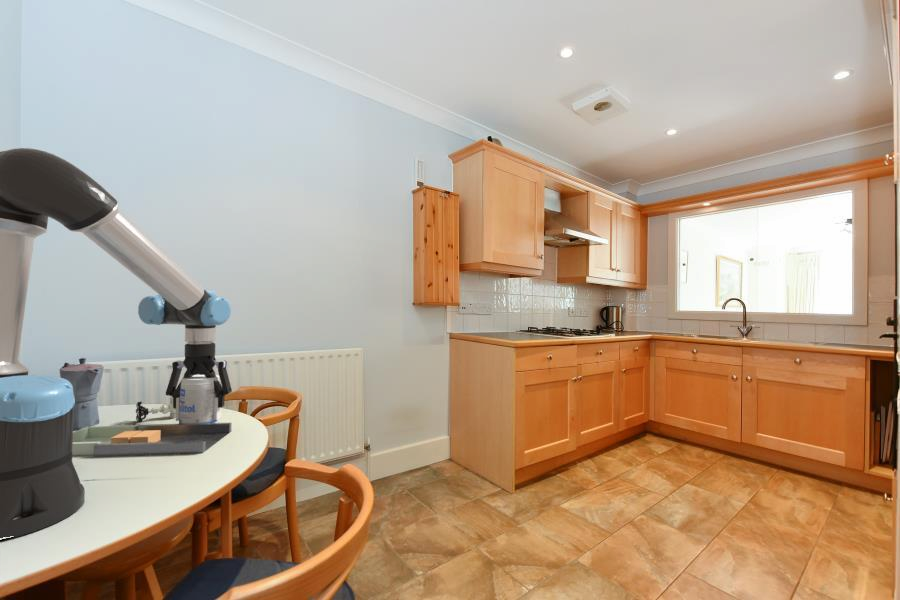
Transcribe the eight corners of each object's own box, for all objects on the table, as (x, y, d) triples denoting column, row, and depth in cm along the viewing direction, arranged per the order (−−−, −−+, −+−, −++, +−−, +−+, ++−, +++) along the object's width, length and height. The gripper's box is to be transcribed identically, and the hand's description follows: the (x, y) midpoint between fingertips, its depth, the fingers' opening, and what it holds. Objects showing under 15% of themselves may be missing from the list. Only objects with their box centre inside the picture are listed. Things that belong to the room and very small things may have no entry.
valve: (182, 413, 125) (135, 421, 116) (182, 393, 125) (135, 400, 116) (187, 418, 120) (138, 426, 112) (187, 397, 120) (139, 404, 112)
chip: (128, 447, 95) (128, 437, 95) (110, 447, 94) (110, 437, 94) (141, 440, 100) (142, 430, 100) (125, 440, 99) (125, 431, 99)
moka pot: (79, 434, 104) (80, 361, 105) (36, 429, 108) (38, 359, 108) (116, 423, 114) (117, 356, 114) (75, 419, 117) (77, 354, 117)
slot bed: (202, 454, 92) (202, 443, 92) (92, 458, 89) (92, 446, 89) (231, 432, 108) (232, 422, 108) (139, 434, 105) (139, 424, 105)
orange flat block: (147, 446, 96) (148, 436, 96) (130, 447, 95) (130, 437, 95) (160, 439, 100) (160, 430, 100) (143, 440, 100) (144, 430, 100)
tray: (97, 455, 90) (97, 443, 90) (40, 457, 89) (41, 444, 89) (136, 436, 104) (136, 425, 104) (87, 437, 102) (87, 426, 102)
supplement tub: (170, 431, 107) (171, 379, 107) (195, 422, 116) (196, 374, 117) (202, 432, 106) (204, 379, 106) (225, 423, 115) (226, 374, 116)
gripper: (245, 341, 116) (244, 414, 116) (167, 341, 113) (165, 415, 113) (234, 343, 109) (233, 422, 109) (150, 343, 106) (148, 423, 106)
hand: (198, 418), depth 111 cm, fingers closed on supplement tub, 9 cm apart
